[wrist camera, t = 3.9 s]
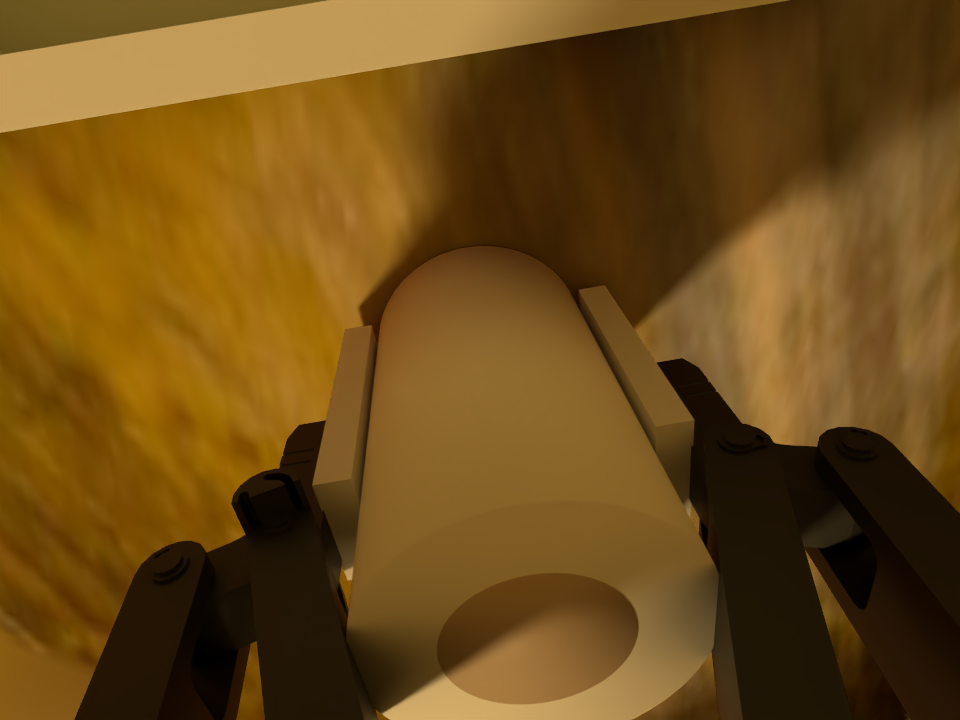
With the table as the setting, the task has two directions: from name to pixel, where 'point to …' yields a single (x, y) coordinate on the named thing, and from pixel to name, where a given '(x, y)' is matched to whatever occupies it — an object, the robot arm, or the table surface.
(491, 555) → the kitchen roll
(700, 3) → the rectangular tray
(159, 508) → the table surface
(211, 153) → the table surface
